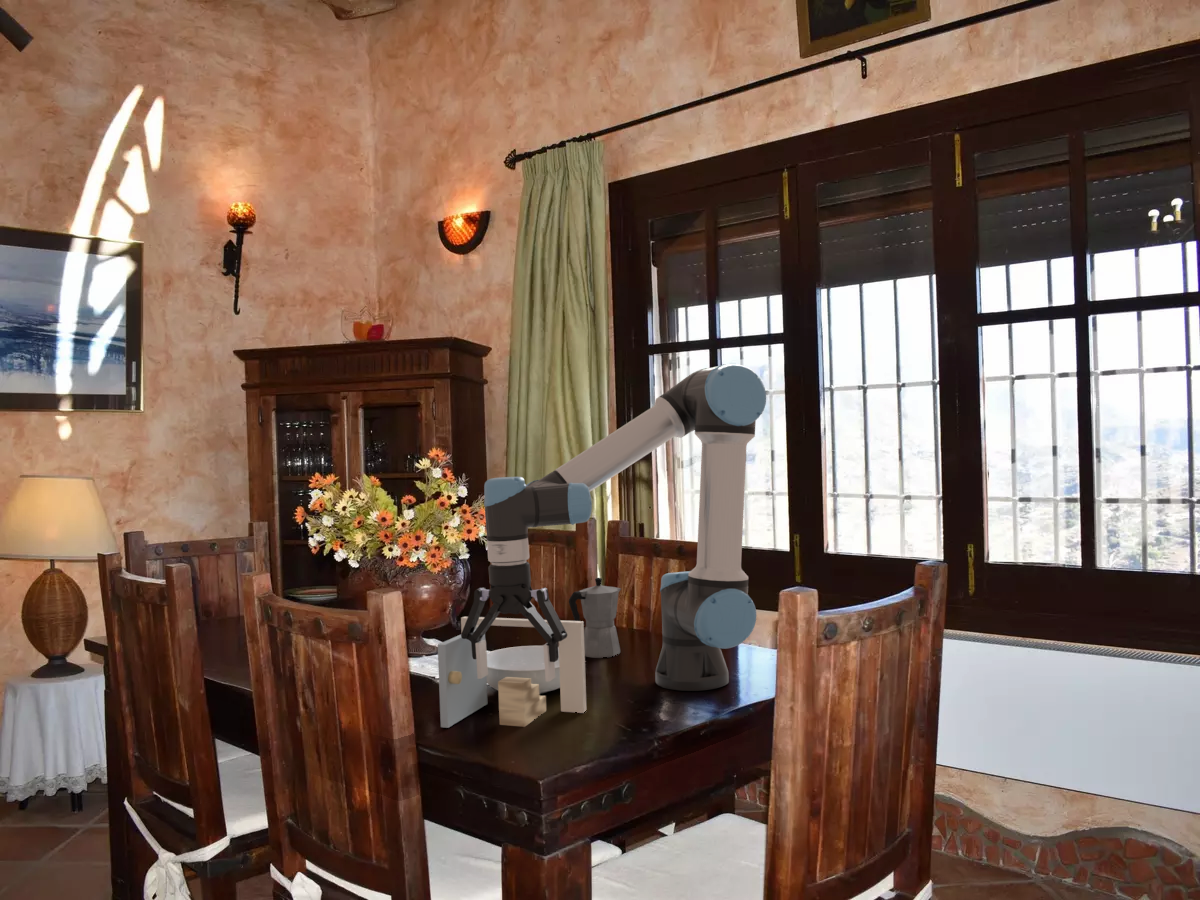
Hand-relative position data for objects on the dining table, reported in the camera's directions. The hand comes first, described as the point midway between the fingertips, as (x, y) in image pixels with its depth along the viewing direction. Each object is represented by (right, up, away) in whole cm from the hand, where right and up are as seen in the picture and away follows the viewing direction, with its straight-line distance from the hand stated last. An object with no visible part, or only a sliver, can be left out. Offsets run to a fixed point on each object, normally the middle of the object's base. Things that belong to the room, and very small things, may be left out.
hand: (516, 678), depth 178 cm
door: (-9, -8, +5) cm, 13 cm away
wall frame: (+1, -8, +10) cm, 13 cm away
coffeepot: (+15, -7, +52) cm, 54 cm away
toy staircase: (+1, -8, +3) cm, 9 cm away
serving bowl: (+1, -8, +23) cm, 24 cm away
